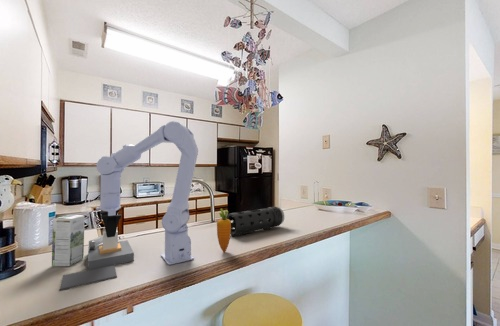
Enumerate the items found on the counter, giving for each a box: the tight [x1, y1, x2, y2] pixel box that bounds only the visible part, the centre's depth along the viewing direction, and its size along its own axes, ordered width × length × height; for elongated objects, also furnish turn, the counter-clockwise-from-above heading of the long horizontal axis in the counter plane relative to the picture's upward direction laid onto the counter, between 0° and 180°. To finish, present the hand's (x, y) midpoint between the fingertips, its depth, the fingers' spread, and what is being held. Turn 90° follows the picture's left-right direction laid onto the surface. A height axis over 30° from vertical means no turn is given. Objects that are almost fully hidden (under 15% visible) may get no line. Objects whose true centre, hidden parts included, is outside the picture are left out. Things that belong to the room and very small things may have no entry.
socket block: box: [87, 239, 135, 270], centre depth 77 cm, size 16×12×2 cm
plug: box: [99, 229, 121, 254], centre depth 77 cm, size 6×6×8 cm
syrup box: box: [51, 214, 86, 267], centre depth 73 cm, size 6×6×14 cm
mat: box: [59, 265, 118, 291], centre depth 63 cm, size 9×12×1 cm
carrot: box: [216, 208, 232, 253], centre depth 81 cm, size 5×5×15 cm
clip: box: [88, 234, 103, 250], centre depth 84 cm, size 2×15×3 cm, turn 1°
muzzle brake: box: [226, 206, 285, 237], centre depth 108 cm, size 10×28×10 cm, turn 126°
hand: (110, 234), depth 77 cm, fingers open, 7 cm apart
